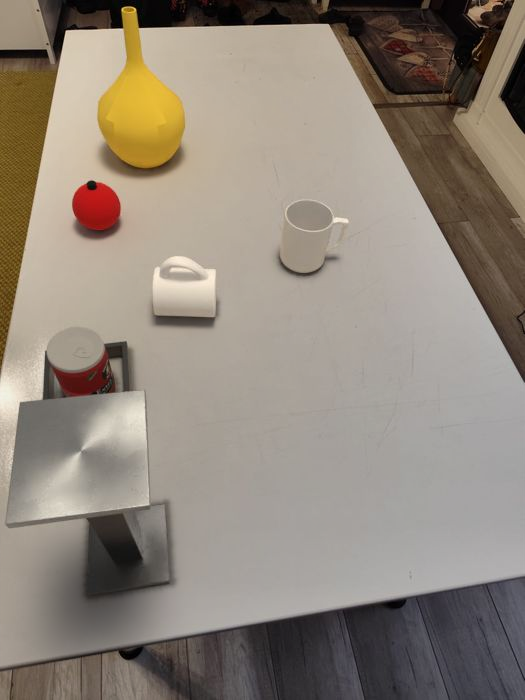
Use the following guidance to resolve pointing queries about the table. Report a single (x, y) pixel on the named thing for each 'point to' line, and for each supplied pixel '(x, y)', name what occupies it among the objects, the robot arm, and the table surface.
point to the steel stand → (92, 483)
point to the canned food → (80, 362)
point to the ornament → (96, 205)
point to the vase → (140, 108)
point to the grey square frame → (112, 351)
